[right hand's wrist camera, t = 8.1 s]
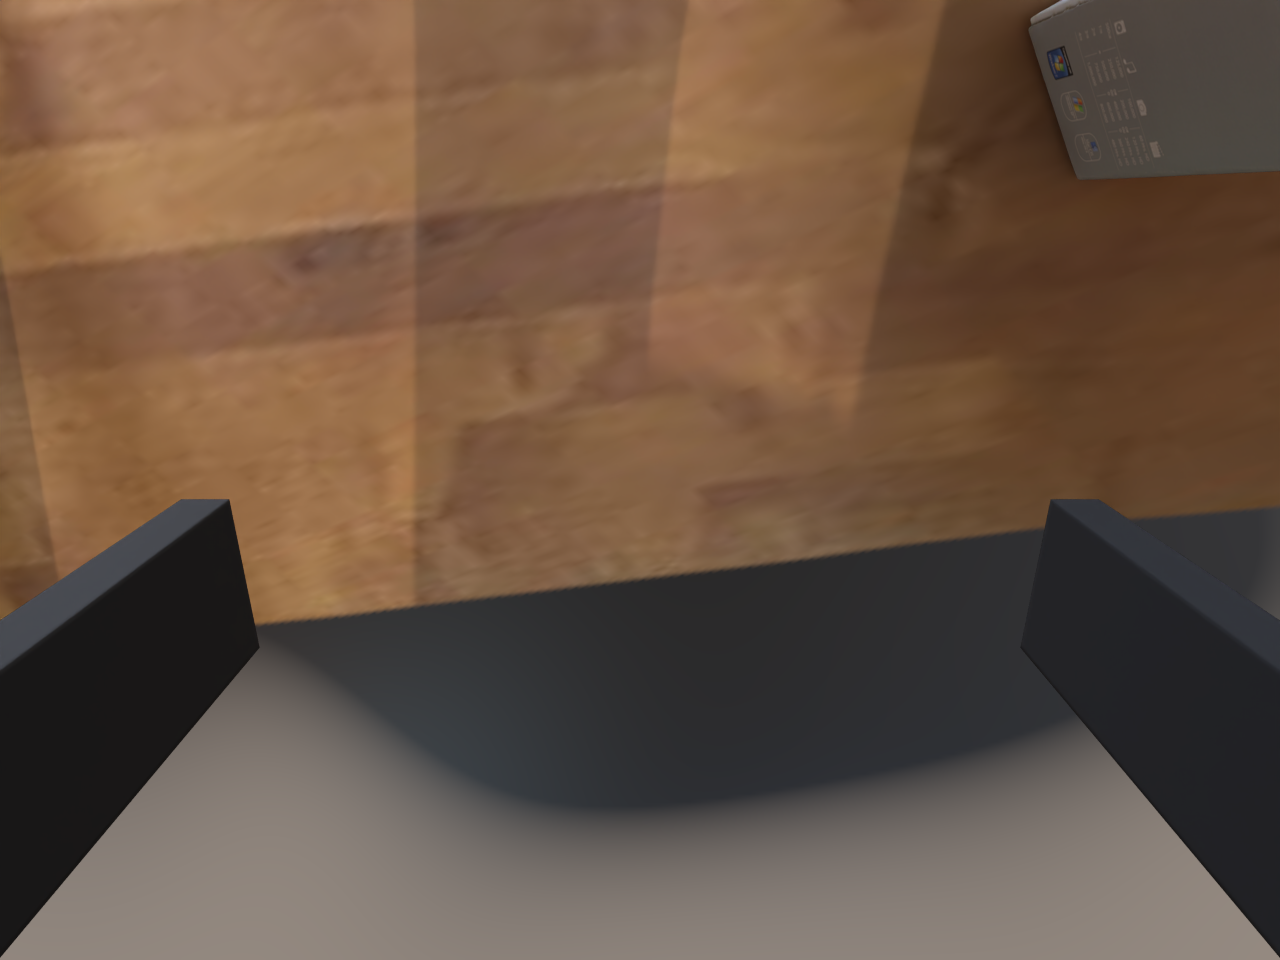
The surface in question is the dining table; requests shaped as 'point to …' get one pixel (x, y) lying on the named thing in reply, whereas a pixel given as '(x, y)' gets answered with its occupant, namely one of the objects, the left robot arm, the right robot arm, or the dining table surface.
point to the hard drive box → (1163, 85)
